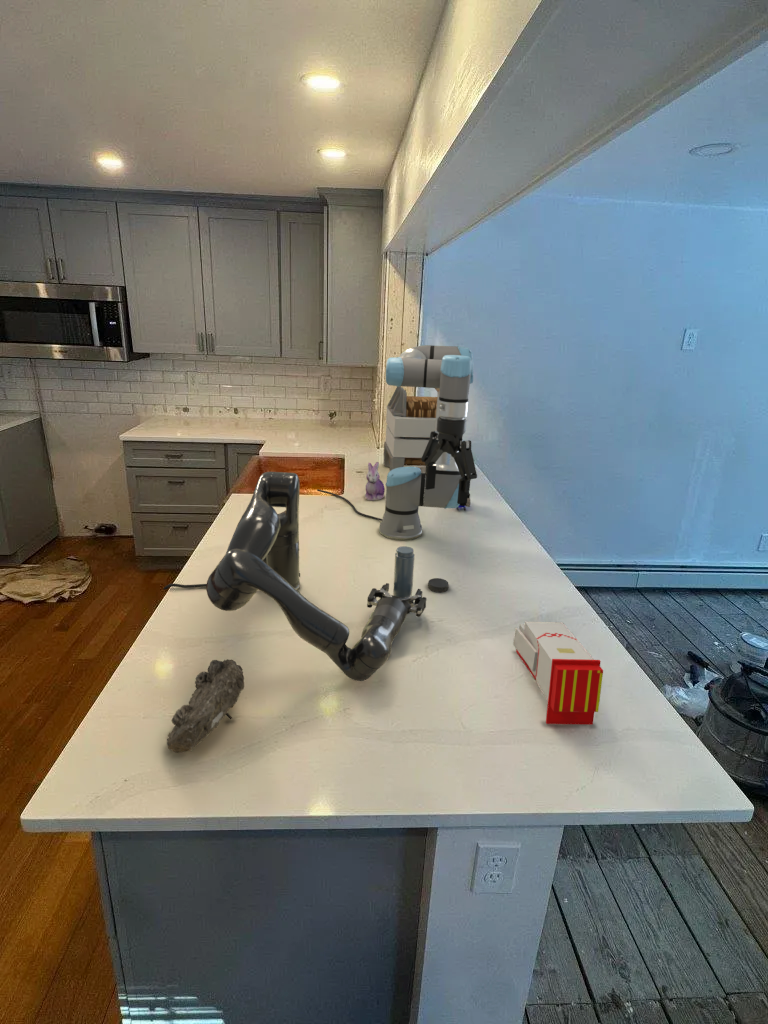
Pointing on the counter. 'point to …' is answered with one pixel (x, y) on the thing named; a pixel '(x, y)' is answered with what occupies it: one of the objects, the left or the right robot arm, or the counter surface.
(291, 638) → the counter surface
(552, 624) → the toy
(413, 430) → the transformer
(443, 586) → the lid
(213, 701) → the fossil
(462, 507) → the figurine character
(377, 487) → the figurine
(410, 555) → the jar
